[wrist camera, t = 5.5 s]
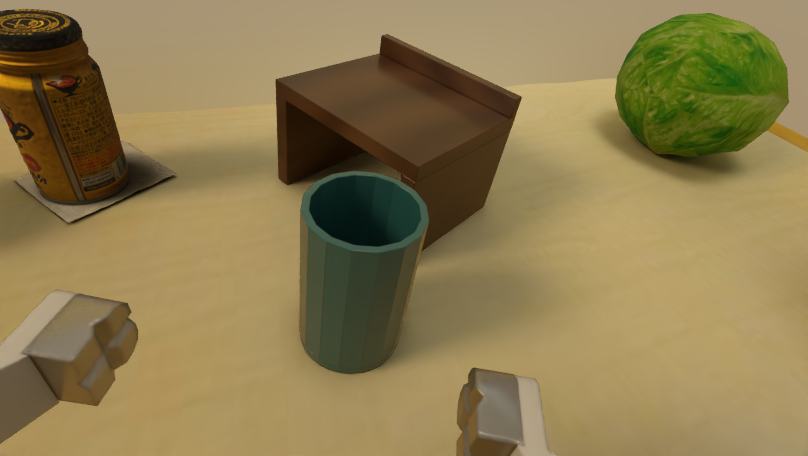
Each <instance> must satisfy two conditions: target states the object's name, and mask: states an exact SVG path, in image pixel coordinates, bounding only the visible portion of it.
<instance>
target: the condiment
mask: <svg viewBox="0 0 808 456" xmlns="http://www.w3.org/2000/svg"><path fill="white" fill-rule="evenodd" d="M0 108H1V111H2V113H3V115H4V117H5V119H6V121H7V124H8V126H9V128H10V132H11V134H12V135H13V138H14V140H15V142H16V143H17V145H18V148H19V150H20V153H21V155H22V156H23V159H24V162H25V163H26V165H27V166H28V169H29V171H30V174H28V175H25V176H21V177H18V178H12V179H13V180H14V181H16V182H17V183H18V184H19V185H21V186H22V187H23V188H24V189H25V190H26V191H28V192H29V193H30V194H31V195H33V196H34V197H35V198H36V199H38V200H39V201H40V202H42V203H43V204H44V205H45V206H47V207H48V208H49V209H50V210H52V211H53V212H55V213H56V214H57V215H59V216H60V217H61V218H63V219H64V220H65V221H66V222H67V223H69V222H71V221H73V220H75V219H78V218H80V217H83V216H85V215H88V214H90V213H93V212H95V211H97V210H99V209H100V208H104V207H106V206H109V205H111V204H113V203H115V202H116V201H120V200H122V199H123V198H125V197H127V196H130V195H131V194H133V193H134V192H136V191H138V190H142V189H144V188H146V187H148V186H151V185H154V184H156V183H158V182H159V181H161V180H163V179H164V178H166V177H169V176H172V175H174V174H176V173H175V172H173V171H172V170H169V169H167V168H166V167H164V166H162V165H161V164H159V163H157V162H156V161H154V160H152V159H151V158H149V157H148V156H146V155H144V154H143V153H142V152H140V151H139V150H137V149H136V148H134V147H132V146H131V145H130V144H128V143H127V142H125V141H124V140H121V141H120V137H119V134H118V130H117V127H116V123H115V120H114V116H113V113H112V109H111V106H110V103H109V99H108V96H107V92H106V88H105V85H104V82H103V78H102V75H101V71H100V68H99V66H98V65H97V63H96V62H95V61H94V60H93V59H92V58H91V57H90V56H89V55H88V47H87V45H86V44H85V42H84V41H83V39H82V30H81V28H80V26H79V24H78V22H76V21H75V20H74V19H73V18H71V17H69V16H67V15H64V14H61V13H58V12H54V11H47V10H34V9H18V10H6V11H0Z"/></svg>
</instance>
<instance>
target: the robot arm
mask: <svg viewBox="0 0 808 456" xmlns="http://www.w3.org/2000/svg"><path fill="white" fill-rule="evenodd" d="M130 313H131V310H130V308H129V305H128V303H125V302H119V301H114V300H109V299H104V298H99V297H93V296H88V295H84V294H80V293H74V292H69V291H63V290H56V291H54V292H52V293H50V294H48V295H47V296H46V297H45V298H44V299H43V300H42V302H41V303H40V304H39V305H38V306H37V307H36V308H35V309H34V310H33V311H32V312H31V313H30V314H29V315H28V316H27V317H26V318H25V319H24V320H23V321H22V323H21V324H20V325H19V326H18V327H17V328H16V329H15V330H14V331H13V332H12V333H11V334H10V335H9V336H8V337H7V338H6V339H5V340H4V341H3V342H2V344H1V345H0V444H1V443H2V442H4V441H5V440H7V439H8V438H9V437H11V436H12V435H14V434H15V433H17V432H18V431H19V430H21V429H22V428H24V427H25V426H27V425H28V424H29V423H31V422H32V421H34V420H35V419H37V418H38V417H39V416H41V415H42V414H44V413H45V412H47V411H48V410H49V409H51V408H52V407H54V406H55V405H57V404H58V403H59V401H58V400H60V401H67V402H73V403H80V404H86V405H93V406H98V405H99V403H100V402H101V400H102V399H103V397H104V396H105V394H106V393H107V391H108V390H109V388H110V387H111V385H112V384H113V382H114V381H115V372H114V370H115V369H117V368H118V367H120V366H122V365H123V364H125V363H127V361H128V360H129V358H130V356H131V355H132V353H133V352H134V349H135V346H136V343H137V340H138V329H137V326H136V324H135V323H134V322H133V321H132V320H131V319H129V318H128V316H129V315H130ZM457 424H458V426H459V428H460V429H461V431H462V433H461V435H460V437H459V438H458V440H457V456H557V454H556V453H555V452H553V451H549V450H548V444H547V437H546V430H545V423H544V416H543V409H542V402H541V395H540V388H539V384H538V382H537V380H536V379H534V378H529V377H523V376H517V375H514V374H509V373H503V372H497V371H491V370H485V369H479V368H472V369H471V371H470V373H469V375H468V383H467V384H465V385H463V388H462V390H461V392H460V397H459V401H458V409H457Z"/></svg>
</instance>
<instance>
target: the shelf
mask: <svg viewBox="0 0 808 456" xmlns="http://www.w3.org/2000/svg"><path fill="white" fill-rule="evenodd" d="M521 99H522V97H521V96H519V95H517V94H515V93H512V92H510V91H508V90H506V89H504V88H502V87H500V86H497V85H495V84H493V83H491V82H489V81H487V80H484V79H482V78H480V77H478V76H476V75H474V74H472V73H469V72H467V71H465V70H463V69H461V68H459V67H457V66H454V65H452V64H450V63H448V62H446V61H444V60H441V59H439V58H437V57H435V56H433V55H431V54H429V53H426V52H424V51H422V50H420V49H418V48H416V47H413V46H411V45H409V44H407V43H405V42H403V41H401V40H399V39H397V38H394V37H392V36H390V35H388V34H386V35H382V37H381V46H380V54H376V55H372V56H368V57H364V58H360V59H356V60H352V61H347V62H343V63H339V64H336V65H332V66H328V67H324V68H319V69H315V70H311V71H307V72H303V73H299V74H295V75H291V76H287V77H283V78H279V79H276V107H277V140H278V174H279V179H280V180H281V181H283V182H284V183H285V184H287V185H288V184H290V183H293V182H295V181H297V180H299V179H302V178H304V177H306V176H309V175H311V174H313V173H315V172H318V171H320V170H322V169H325V168H327V167H329V166H332V165H334V164H336V163H338V162H341V161H343V160H345V159H348V158H350V157H352V156H355V155H357V154H359V153H361V152H364V151H367V152H368V153H370V154H371V155H373V156H375V157H376V158H378V159H379V160H381V161H382V162H384V163H386V164H387V165H389V166H390V167H392V168H393V169H395V170H397V171H398V172H400V173H401V174H402V175H401V182H403V183H404V184H406V185H407V186H409V187H410V188H412V189H414V190H415V191H416V192H417V193H418V195H419V196H420V197H421V198H422V200H423V201H424V202H425V204H426V205H427V210H428V216H429V224H428V228H427V231H426V235H425V239H424V243H423V247H422V250H423V249H424V248H426V247H427V246H428V245H430V244H431V243H433V242H434V241H435V240H437V239H438V238H440V237H441V236H442V235H444V234H445V233H447V232H448V231H449V230H451V229H452V228H454V227H455V226H456V225H458V224H459V223H461V222H462V221H463V220H465V219H466V218H468V217H469V216H470V215H472V214H473V213H475V212H476V211H477V210H479V209H480V208H482V207H483V206H484V204H485V202H486V199H487V196H488V193H489V190H490V187H491V184H492V182H493V179H494V176H495V173H496V170H497V167H498V164H499V162H500V159H501V156H502V153H503V150H504V147H505V144H506V141H507V139H508V136H509V133H510V130H511V128H512V125H513V122H514V119H515V115H516V113H517V110H518V107H519V104H520V101H521Z"/></svg>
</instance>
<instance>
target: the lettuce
mask: <svg viewBox="0 0 808 456" xmlns="http://www.w3.org/2000/svg"><path fill="white" fill-rule="evenodd" d="M615 99H616V102H617V106H618V110H619V114H620V117H621V118H622V119H623V121H624V122H625V123H626V124H627V126H628V127H629V128H630V130H631V131H632V132H633V133H634V135H635V136H636V137H637V138H638V139H639V140H640V141H641V142H642V143H644V144H645V145H646V146H647V147H648V148H650V149H651V150H652V151H653V152H654V153H656V154H675V155H680V156H685V157H690V158H692V157H698V156H703V155H709V154H714V153H720V152H733V151H739V150H741V149H742V148H744V147H745V146H747V145H748V144H749V143H751V142H752V141H753V140H755V139H756V138H757V137H759V136H760V135H761V134H762V133H764V132H765V131H766V130H768V129H769V128H770V127H771V126H772V124H773V123H774V122H775V120H776V119H777V118H778V116H779V115H780V114H781V112H782V111H783V110H784V108H785V107H786V106H787V104H788V103H789V101H788V78H787V67H786V65H785V63H784V61H783V59H782V57H781V55H780V53H779V51H778V49H777V47H776V45H775V43H773V42H772V41H771V40H770V39H769V38H767V37H766V36H765V35H763V34H762V33H761V32H759V31H758V30H757V29H756V28H754V27H752V26H750V25H748V24H746V23H744V22H740V21H737V20H733V19H729V18H725V17H722V16H719V15H715V14H711V13H706V14H689V15H679V16H676V17H674V18H671V19H670V20H668V21H666V22H664V23H662V24H660V25H658V26H656V27H654V28H652V29H650V30H648V31H646V32H645V33H643V34H641V36H640V37H639V39H638V40H637V42H636V43H635V44H634V46H633V47H632V49H631V50H630V52H629V53H628V54H627V56H626V58H625V61H624V63H623V65H622V67H621V69H620V71H619V74H618V76H617V84H616V93H615Z"/></svg>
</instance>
